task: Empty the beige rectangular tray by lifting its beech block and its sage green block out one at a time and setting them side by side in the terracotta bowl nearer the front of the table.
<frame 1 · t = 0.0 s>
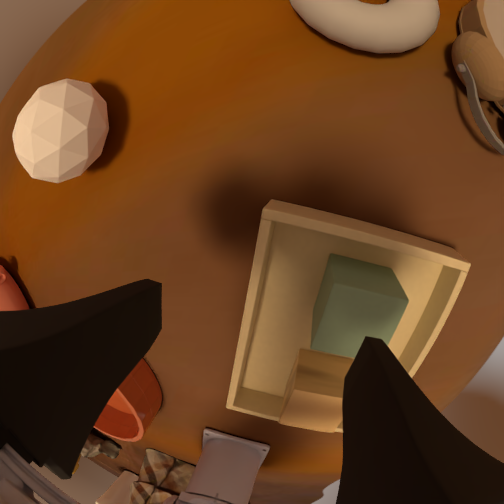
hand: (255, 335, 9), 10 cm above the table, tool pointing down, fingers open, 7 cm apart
beige rectangular tray: (334, 332, 20), on the table
geometric ball: (94, 129, 19), on the table
cup: (136, 475, 45), on the table
block a: (318, 373, 21), resting on beige rectangular tray
donut: (361, 1, 12), on the table
teapot: (15, 307, 32), on the table
block b: (352, 289, 18), resting on beige rectangular tray
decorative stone: (88, 425, 39), on the table
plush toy: (173, 465, 36), on the table
bowl: (102, 368, 29), on the table
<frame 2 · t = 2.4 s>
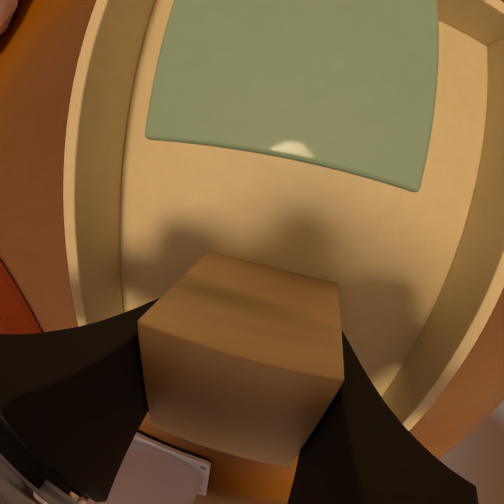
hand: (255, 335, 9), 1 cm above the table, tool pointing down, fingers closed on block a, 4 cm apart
beige rectangular tray: (286, 210, 9), on the table
geometric ball: (10, 18, 8), on the table
block a: (259, 320, 10), point 1 cm above the table, touching gripper, beige rectangular tray
block b: (308, 85, 7), resting on beige rectangular tray
bowl: (5, 325, 18), on the table
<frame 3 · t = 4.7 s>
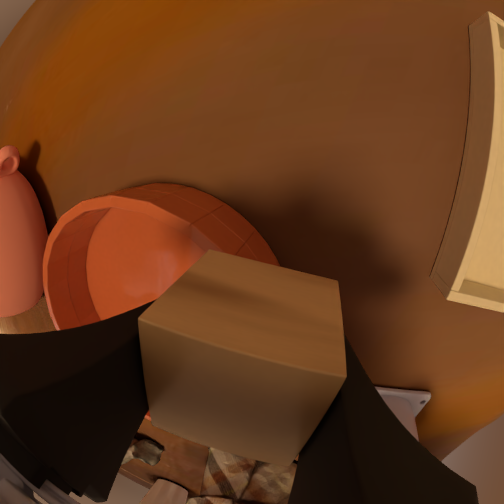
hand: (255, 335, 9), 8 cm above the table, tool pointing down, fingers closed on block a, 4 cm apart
cup: (173, 484, 36), on the table
block a: (260, 319, 10), point 7 cm above the table, touching gripper
teapot: (21, 236, 22), on the table
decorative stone: (114, 420, 30), on the table
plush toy: (247, 465, 27), on the table
bowl: (170, 303, 20), on the table
when the fingers open (1 cm above the table, at t = 7.4 s): block a stays where it is, resting on bowl.
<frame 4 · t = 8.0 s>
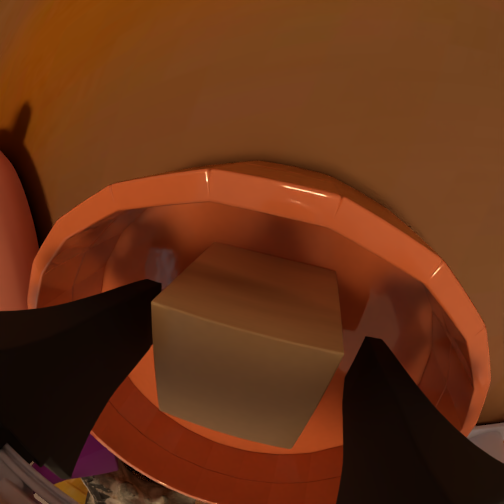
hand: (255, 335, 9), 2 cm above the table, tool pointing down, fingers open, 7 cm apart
block a: (263, 308, 11), resting on bowl
teapot: (3, 243, 15), on the table
flower pot: (101, 469, 29), on the table
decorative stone: (134, 465, 23), on the table
perfume bottle: (98, 410, 19), on the table
bowl: (252, 361, 12), on the table
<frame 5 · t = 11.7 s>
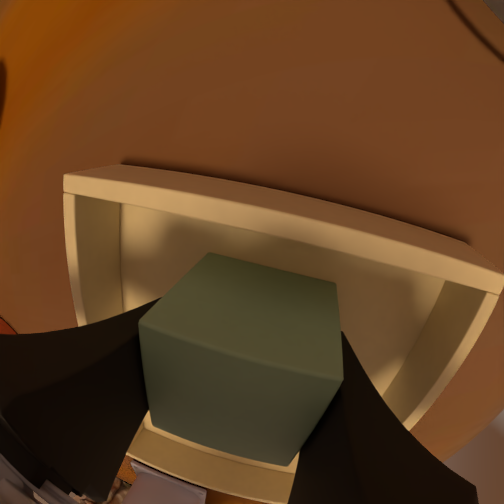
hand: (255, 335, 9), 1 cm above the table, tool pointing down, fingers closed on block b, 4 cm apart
beige rectangular tray: (247, 382, 12), on the table
cup: (101, 488, 37), on the table
block b: (259, 320, 10), resting on beige rectangular tray, touching gripper
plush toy: (125, 485, 28), on the table
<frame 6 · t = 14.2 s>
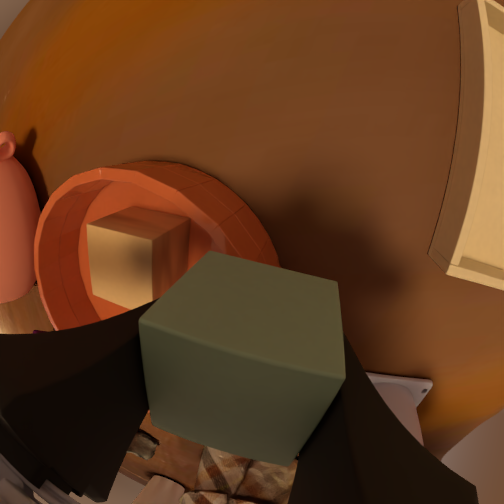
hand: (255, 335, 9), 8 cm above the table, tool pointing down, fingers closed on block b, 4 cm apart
cup: (169, 481, 36), on the table
block a: (158, 244, 17), resting on bowl
teapot: (16, 224, 22), on the table
block b: (260, 319, 10), point 7 cm above the table, touching gripper
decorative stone: (108, 413, 30), on the table
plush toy: (243, 459, 26), on the table
bowl: (161, 285, 19), on the table
when the fingers open (1 cm above the table, at t = 17.1 s): block b stays where it is, resting on bowl.
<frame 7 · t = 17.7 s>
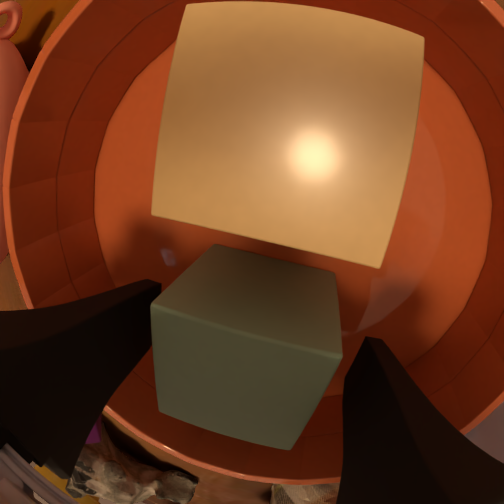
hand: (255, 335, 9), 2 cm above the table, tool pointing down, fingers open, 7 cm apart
block a: (299, 133, 8), resting on bowl
block b: (262, 310, 10), resting on bowl
flower pot: (90, 454, 27), on the table
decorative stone: (124, 443, 20), on the table
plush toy: (321, 493, 17), on the table
bowl: (282, 228, 10), on the table
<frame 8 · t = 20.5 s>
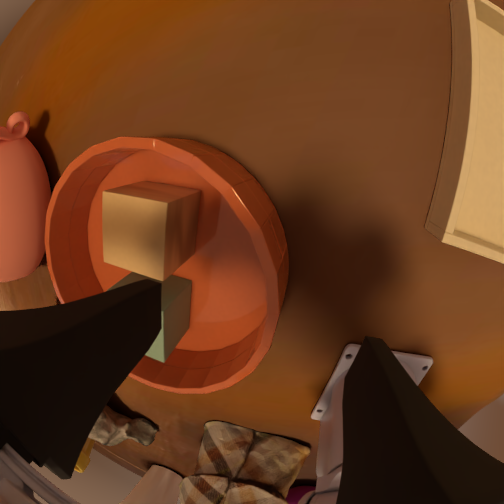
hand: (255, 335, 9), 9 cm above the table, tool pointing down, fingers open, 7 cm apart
cup: (168, 471, 37), on the table
block a: (168, 216, 18), resting on bowl
teapot: (24, 205, 23), on the table
christmas ornament: (306, 486, 29), on the table
block b: (164, 297, 21), resting on bowl
flower pot: (85, 419, 37), on the table
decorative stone: (108, 398, 31), on the table
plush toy: (244, 444, 27), on the table
bowl: (169, 258, 20), on the table
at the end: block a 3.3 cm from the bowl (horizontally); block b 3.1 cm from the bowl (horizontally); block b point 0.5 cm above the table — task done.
